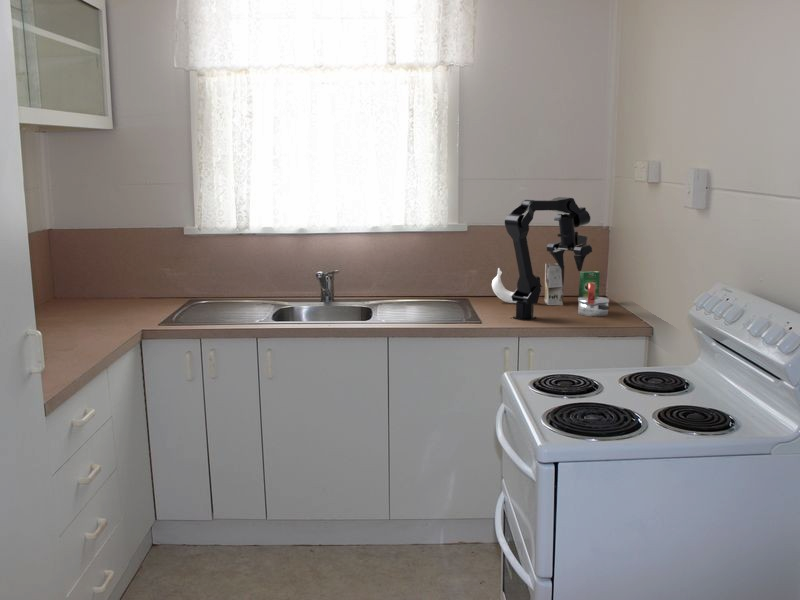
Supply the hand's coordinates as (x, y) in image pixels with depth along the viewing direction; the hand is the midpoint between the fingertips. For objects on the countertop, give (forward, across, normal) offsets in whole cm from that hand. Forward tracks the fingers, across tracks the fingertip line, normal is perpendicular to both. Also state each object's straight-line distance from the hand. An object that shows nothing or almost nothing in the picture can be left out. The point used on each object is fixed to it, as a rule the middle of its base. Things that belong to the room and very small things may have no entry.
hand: (570, 269), depth 312 cm
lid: (+12, -9, 0) cm, 15 cm away
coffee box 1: (+17, +15, -4) cm, 23 cm away
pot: (+17, -8, -1) cm, 19 cm away
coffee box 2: (+19, +7, -15) cm, 25 cm away
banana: (+15, +24, +9) cm, 30 cm away
